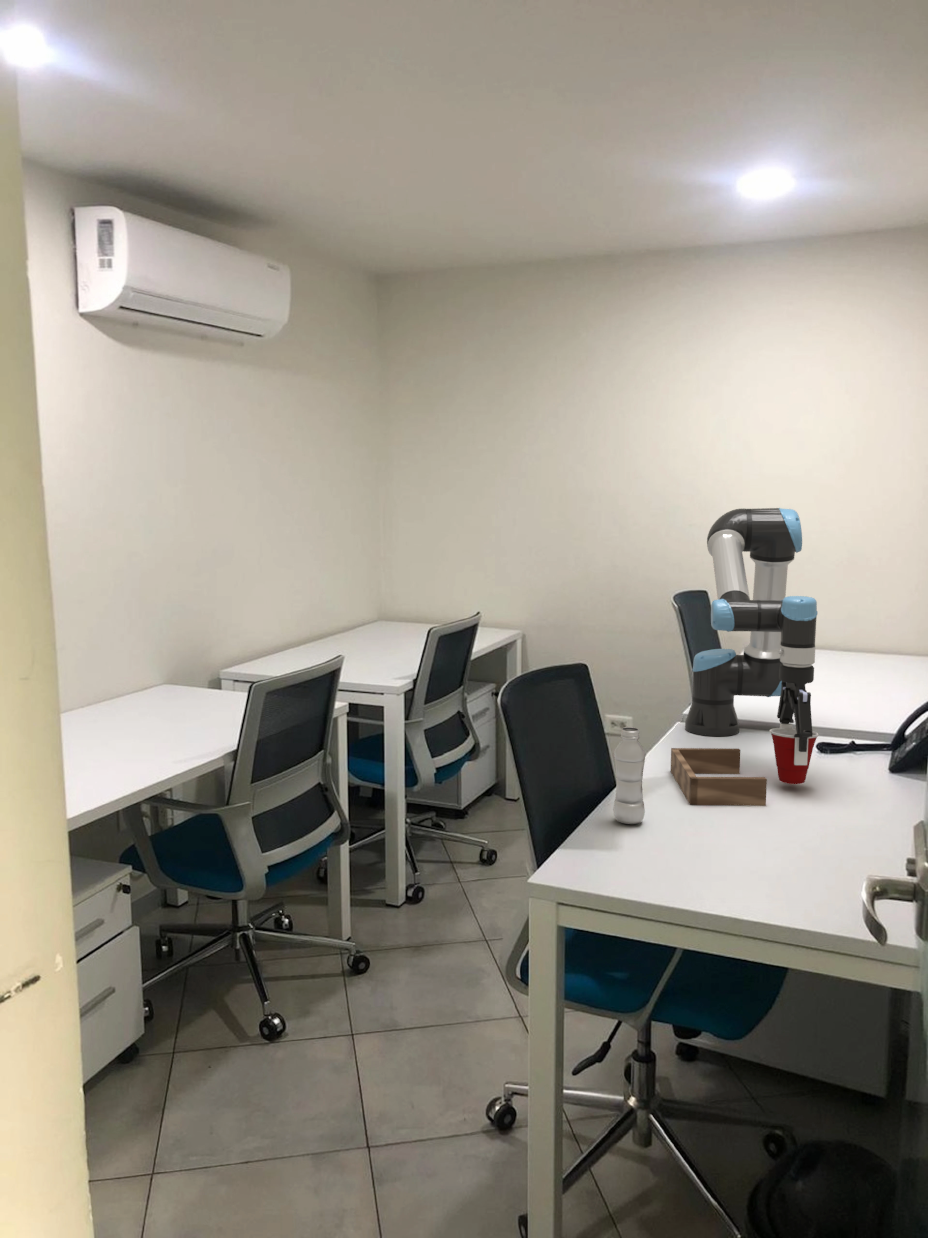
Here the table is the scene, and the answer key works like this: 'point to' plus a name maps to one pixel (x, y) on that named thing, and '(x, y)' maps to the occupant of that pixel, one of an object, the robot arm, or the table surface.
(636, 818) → the plastic bottle
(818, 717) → the table surface
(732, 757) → the box
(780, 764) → the plastic cup
